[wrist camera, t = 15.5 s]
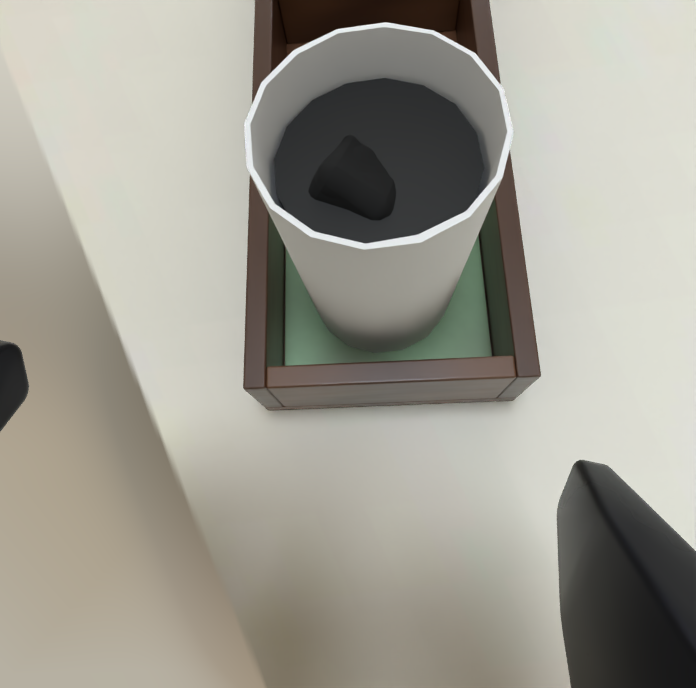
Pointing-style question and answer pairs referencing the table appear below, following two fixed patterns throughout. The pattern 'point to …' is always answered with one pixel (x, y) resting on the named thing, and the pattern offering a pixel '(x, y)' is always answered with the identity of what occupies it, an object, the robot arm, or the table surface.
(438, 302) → the white cup
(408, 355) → the tray
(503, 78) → the table surface
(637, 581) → the robot arm
